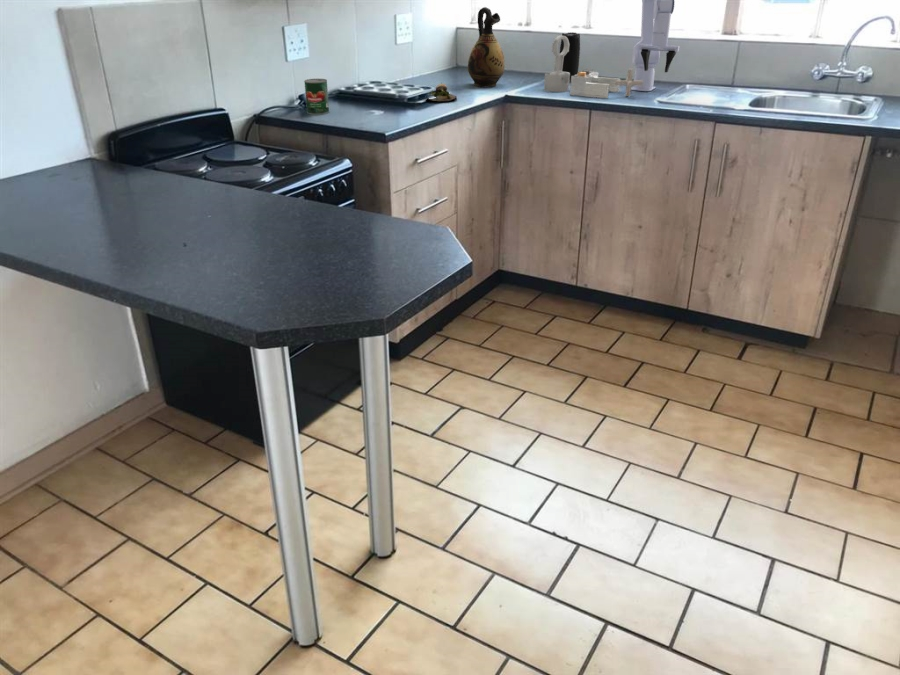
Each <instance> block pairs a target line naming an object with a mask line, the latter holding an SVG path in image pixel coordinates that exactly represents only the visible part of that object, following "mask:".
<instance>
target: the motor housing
mask: <svg viewBox="0 0 900 675" xmlns="http://www.w3.org/2000/svg"><path fill="white" fill-rule="evenodd" d="M616 80H621V78H617V77H616V78H615V77H604V76H603V77H602V76H601V77H600V76H599V71H594V69H588V68H587V69H584V70H582V71H578V74H576V75H573V76H571V80H570V87H569V90H570V92H569V95H570V96H577V97H579V96H581V97H587V98H596V97H597V98H598V99H608V97H609V92H610V93H611V92H612V93H619V92H620V86H621V85H616Z"/></svg>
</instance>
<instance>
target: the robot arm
mask: <svg viewBox="0 0 900 675" xmlns="http://www.w3.org/2000/svg"><path fill="white" fill-rule="evenodd" d="M641 3H642V4H641V26H640V28H641V29H640V30H641V33H640V41H638V42H636V44H634V46H633V49H632V50H633V51H632V59H631V60H632V61H631V62H632V65H633V66H635V69H634V70H635V71H634V77H633V78H634V79H633V80H638V81H643V85H633V86H632V87H631V91H641V92H651V91H653V90H654V89H656V86H654V82H655V74H656V72H655V68H656V66H657V65H658V64H660V63H659V62H660V58H661V57H660V56H661V52H666V57H665V58H666V60H665V68H664V73H668V72H669V68H670V66H671V64H672V61H673V59H674V57H675V56H676V54H677V53H679V51H680V45H671V44H668V41H669V34H670V28H671V26H670V25H671V17H672V14H673V12H674V9H675V0H641Z"/></svg>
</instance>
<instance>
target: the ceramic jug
mask: <svg viewBox="0 0 900 675" xmlns="http://www.w3.org/2000/svg"><path fill="white" fill-rule="evenodd" d="M484 14H485V18H484ZM500 22H501V16H500V15H499V13H497V12H495V13H493V14H492V11H491V9H490V8H489V7H486V6H484V7H482V8H480V9H479V10H478V12H477V28H478V30H477V31H478V36H479V37H478V39H477V41H476V42H475V44H474V45H473V47H472V49H471V51H470V54H469V57H468V61H467V70H468V71H467V72H468V73H469V76H470V78H471V79H472V81H473V85H474V86H476V87H478V88H493V87H496V85H497V83H498V82H499V81H500V79H501V78H502V76H503V75H504V72H505V67H506V66H505V56H504V54H503V50H502V47H501V46H500V43H499V41H498V39H497V38H496V36H495V34H494V33H493V32H494V31H493V25H495V24H498V23H500Z"/></svg>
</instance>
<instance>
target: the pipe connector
mask: <svg viewBox="0 0 900 675" xmlns="http://www.w3.org/2000/svg"><path fill="white" fill-rule="evenodd" d="M633 71H634V68H628V70H627V77H626V78H625V80H623V79H620V80H616V85H620V86H626V89H625V97H626V96H630V97H631V93H632V90H631V88H633V87H634V85H643V81H638V80H634V79H633V73H634V72H633Z"/></svg>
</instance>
